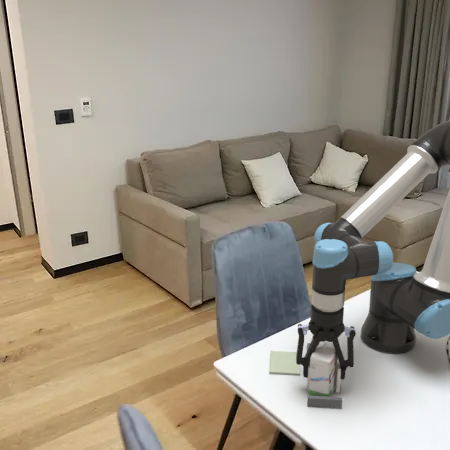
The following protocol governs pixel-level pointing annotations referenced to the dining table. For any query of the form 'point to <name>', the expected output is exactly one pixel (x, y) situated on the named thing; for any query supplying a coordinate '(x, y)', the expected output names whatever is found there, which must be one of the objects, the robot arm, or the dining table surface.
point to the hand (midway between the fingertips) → (323, 388)
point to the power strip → (324, 400)
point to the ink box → (323, 370)
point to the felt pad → (284, 363)
